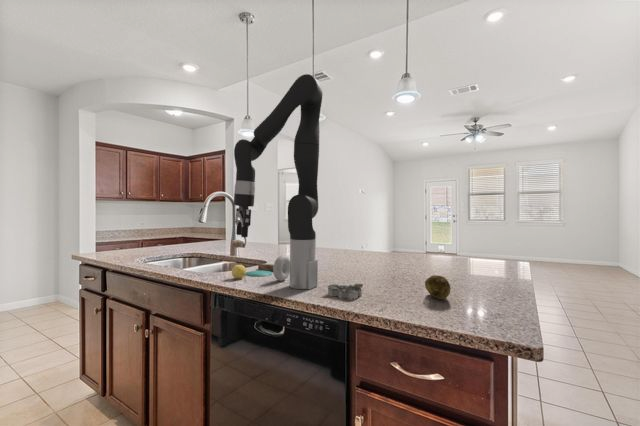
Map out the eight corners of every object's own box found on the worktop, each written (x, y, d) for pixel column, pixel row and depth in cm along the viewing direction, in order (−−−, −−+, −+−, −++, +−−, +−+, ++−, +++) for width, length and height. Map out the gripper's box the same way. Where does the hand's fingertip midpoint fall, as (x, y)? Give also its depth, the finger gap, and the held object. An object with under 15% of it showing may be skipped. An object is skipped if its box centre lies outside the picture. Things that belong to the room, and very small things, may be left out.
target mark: (277, 272, 137) (277, 272, 137) (260, 277, 126) (260, 277, 126) (257, 270, 142) (257, 269, 142) (238, 274, 132) (238, 274, 132)
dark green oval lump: (454, 296, 100) (454, 271, 100) (448, 306, 89) (448, 279, 89) (428, 292, 104) (428, 269, 104) (418, 302, 93) (419, 275, 93)
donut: (278, 283, 116) (279, 257, 116) (271, 282, 117) (271, 256, 117) (292, 278, 125) (292, 254, 125) (285, 277, 126) (285, 253, 126)
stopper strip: (285, 271, 140) (285, 266, 140) (282, 272, 138) (282, 266, 138) (261, 268, 146) (261, 263, 146) (258, 269, 145) (258, 263, 145)
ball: (248, 278, 125) (249, 264, 125) (239, 280, 120) (239, 266, 120) (238, 276, 128) (238, 263, 128) (228, 279, 123) (228, 265, 123)
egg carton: (364, 296, 101) (364, 283, 100) (353, 301, 94) (353, 288, 94) (336, 291, 106) (336, 279, 106) (324, 296, 100) (324, 283, 100)
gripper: (259, 194, 113) (256, 238, 113) (249, 194, 125) (246, 234, 125) (238, 192, 109) (235, 237, 109) (230, 193, 122) (228, 233, 122)
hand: (241, 236), depth 117 cm, fingers open, 8 cm apart
